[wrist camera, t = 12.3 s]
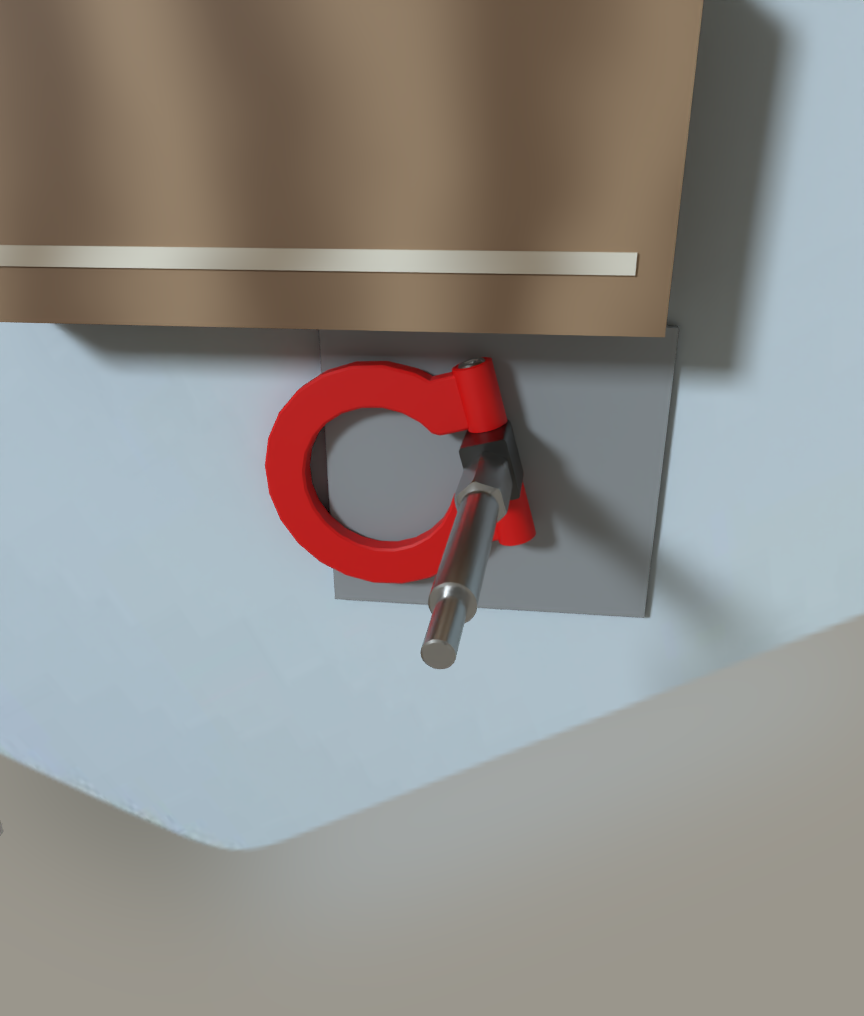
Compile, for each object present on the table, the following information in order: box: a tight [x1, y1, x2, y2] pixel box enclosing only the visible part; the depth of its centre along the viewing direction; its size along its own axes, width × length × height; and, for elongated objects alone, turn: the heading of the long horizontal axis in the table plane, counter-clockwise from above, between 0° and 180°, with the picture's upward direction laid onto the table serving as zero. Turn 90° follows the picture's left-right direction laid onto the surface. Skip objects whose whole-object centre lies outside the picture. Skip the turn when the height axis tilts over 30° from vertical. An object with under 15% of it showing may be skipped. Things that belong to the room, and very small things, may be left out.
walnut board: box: [0, 0, 703, 337], centre depth 24 cm, size 22×10×4 cm, turn 90°
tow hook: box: [265, 357, 536, 669], centre depth 24 cm, size 8×13×9 cm
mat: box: [319, 326, 679, 618], centre depth 30 cm, size 12×11×1 cm
